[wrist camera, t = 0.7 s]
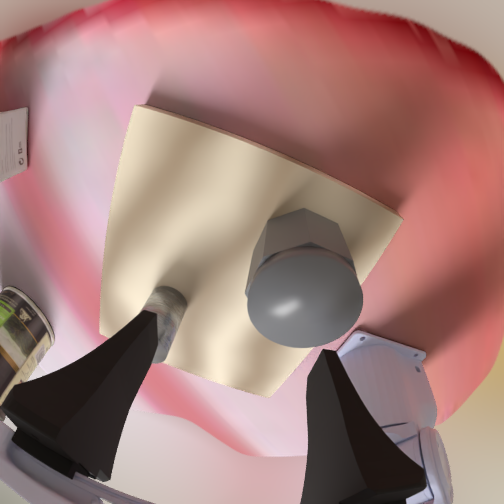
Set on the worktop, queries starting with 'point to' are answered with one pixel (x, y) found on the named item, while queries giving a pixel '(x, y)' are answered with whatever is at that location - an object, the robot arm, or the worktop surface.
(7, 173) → the skincare box
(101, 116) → the worktop surface
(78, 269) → the worktop surface
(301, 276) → the cap
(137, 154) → the beige cloth
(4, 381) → the coffee can
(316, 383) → the robot arm
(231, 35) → the worktop surface
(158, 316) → the post
